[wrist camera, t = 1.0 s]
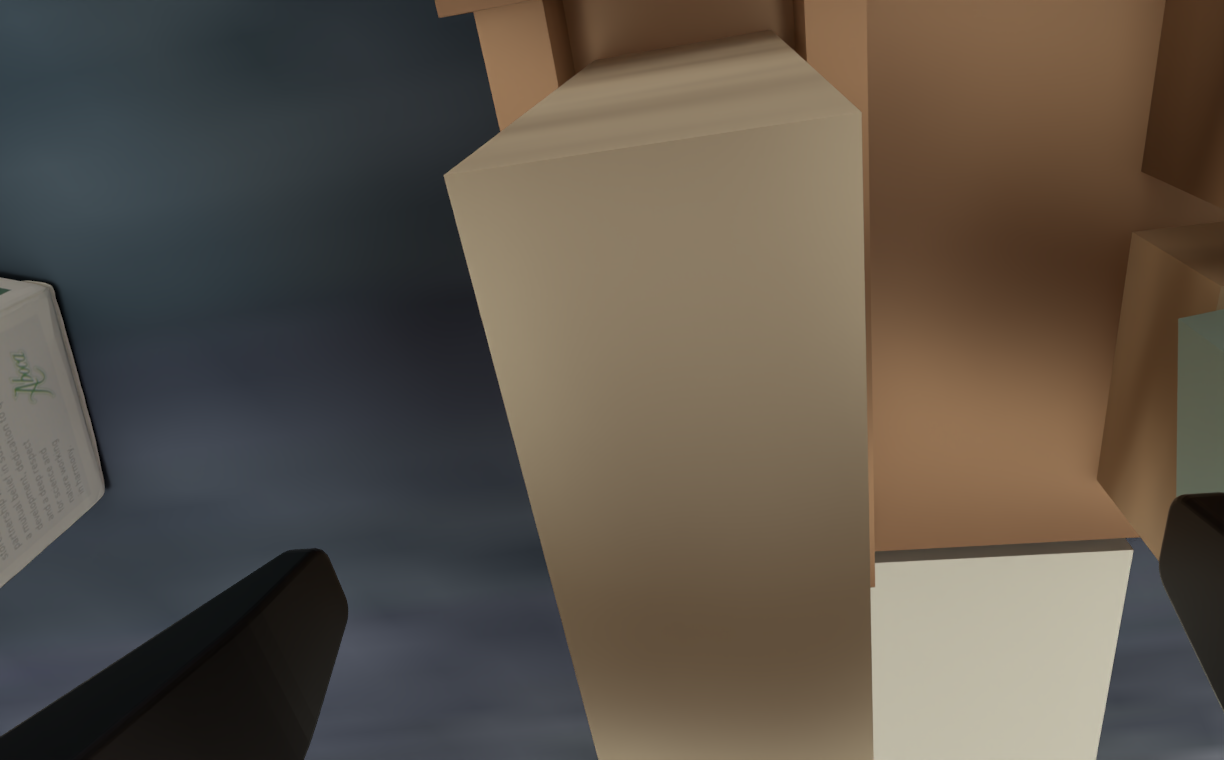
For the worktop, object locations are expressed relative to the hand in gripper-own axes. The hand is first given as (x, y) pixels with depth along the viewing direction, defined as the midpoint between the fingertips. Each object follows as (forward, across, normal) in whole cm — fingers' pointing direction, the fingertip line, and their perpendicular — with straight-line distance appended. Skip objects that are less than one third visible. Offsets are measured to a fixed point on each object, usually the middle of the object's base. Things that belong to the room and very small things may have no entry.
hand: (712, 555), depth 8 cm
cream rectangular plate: (+7, -4, +11) cm, 14 cm away
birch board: (+7, 0, 0) cm, 7 cm away
